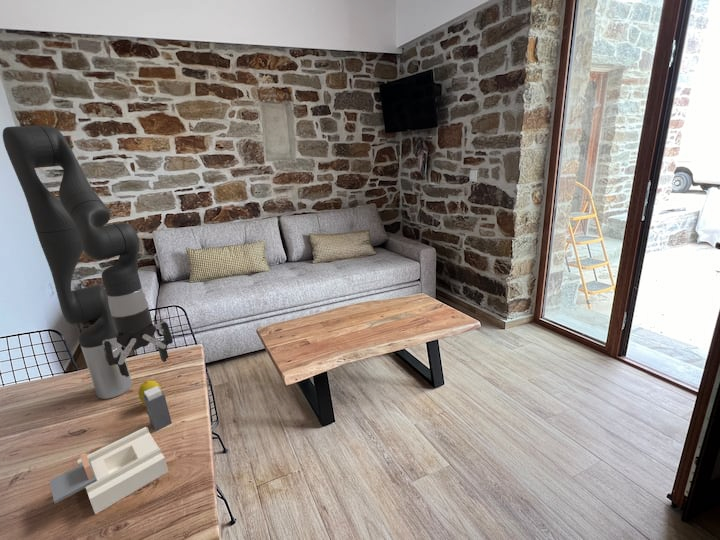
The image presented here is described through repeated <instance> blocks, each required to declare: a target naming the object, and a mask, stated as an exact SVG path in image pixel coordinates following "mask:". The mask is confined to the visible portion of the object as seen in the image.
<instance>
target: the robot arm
mask: <svg viewBox="0 0 720 540" xmlns="http://www.w3.org/2000/svg"><path fill="white" fill-rule="evenodd" d="M2 141H3V145H4V148H5V150H6V153H7V156H8V158H9V160H10V163H11V165H12V168H13V170H14V172H15V174H16V177H17V179H18V183H19V184H20V186H21V188H22V189H21V190H22V191H23V193H24V198H25V200H26V203H27V206H28V208H29V211H30V214H31V219H32V222H33V226H34V230H35V232H36V234H37V238H38V241H39V243H40V247H41V248H42V251H43V253H44V256H45V260H46V262H47V265H48V267H49V270H50V273H51V277H52V279H53V284H54V287H55V290H56V291H55V292H56V295H57V299H58V303H59V307H60V310H61V313H62V315H63V318H64V320H65V322H67V323H68V324H70V325H77V324H82V323H84V322H90V321H92V320H96V321H95V322H94V323H93V324H92V325H90V326H89V327H87V328H85V329H84V330H83V331H81V333H79V335H78V342H79V346H80V348H81V351H82V354H83V357H84V360H85V363H86V367H87V369H88V373H89V375H90V378H91V382H92V383H93V388H94V390H95V393H96V396H97V398H99V399H104V400H106V399H107V400H108V399H112V398H116V397H119V396H120V395H123V394H124V393H126V392H127V391H129V390H130V389H131V387H132V385H133V381H132V378H131V374H130V371H129V367H128V365H127V361H126V359H127V357H128V356H129V355H130V354H131V351H132V350H134V351H136V350H138V349H140V348H143V347H144V348H145V347H147V346H149V344H150V343H151V344H153V345H154V346H157V349H158V352H159V357H160V360H161V361H162V362H163V363H165V362H167V360H168V359H169V353H168V351H167V347H168V345H171V344H173V342H174V340H173V336H172V333H171V330H170V327H169V325H168V322H166V321H165V320H164V319H162V320H160V321H158V322H157V323H155V324H153V321H152V317H151V313H150V309H149V306H148V300H147V298H146V294H145V291H144V289H143V287H142V284H141V279H140V275H139V272H138V271H139V269H138V264H139V259H138V258H139V248H140V243H139V242H140V240H139V236H138V233H137V231H136V229H135V228H134V227H133V225H131V224H129V223H127V222H119V223H112V224H108V223H109V221H110V220H111V212H110V210H109V208H108V207H107V206H106V205H105V203H104V202H103V200H102V199H101V198H100V196H99V195H98V194H97V193H96V191H95V190H94V188H93V187H92V185H91V184H90V183H89V181H88V178H87V177H86V174H85V172H84V171H83V169H82V167H81V165H80V163H79V161H78V159H77V158H76V155H75V153H74V152H73V149H72V148H71V145H70V143H68V140H67V139H66V137H65V136H64V135H63V133H62V132H61V131H60V130H58V128H56V127H53V126H51V125H49V126H48V125H33V126H32V125H28V126H26V125H25V126H23V125H21V126H15V125H14V126H7V127H5V128H3V131H2ZM57 166H58V167H61V168H62V172H63V173H62V178H61V182H60V184H59V189H58V195H59V197H58V198H57V196H55V195H54V194H53V193H52V192H51V191H50V190H49V189H48V188H47V187H46V186H45V185H44V184H43V182H42V181H41V180H40V177H39V176H38V173H37V172H36V168H46V167H47V168H48V167H57ZM106 224H107V225H106ZM83 253H85V254H86V255H87V256H88V257H89V258H91V259H94V260H96V261H102V260H107V259H111V258H115V257H118V259H117V261H116V262H115V263H114V264H113V265H111V266H109V267H107V268H105V269H104V270H103V271H102V272H101V279H102V283H103V285H100V284H96V285H92V286H87V287H83V288H77V289H75V290H72V280H73V276H74V273H75V270H76V267H77V265H78V263H79V261H80V259H81V256H82V255H83ZM157 330H158V331H159V332H162V335H163V338H164V339H162V340H161V339H159V338H158V337H156V336H155V334H156V331H157Z"/></svg>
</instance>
